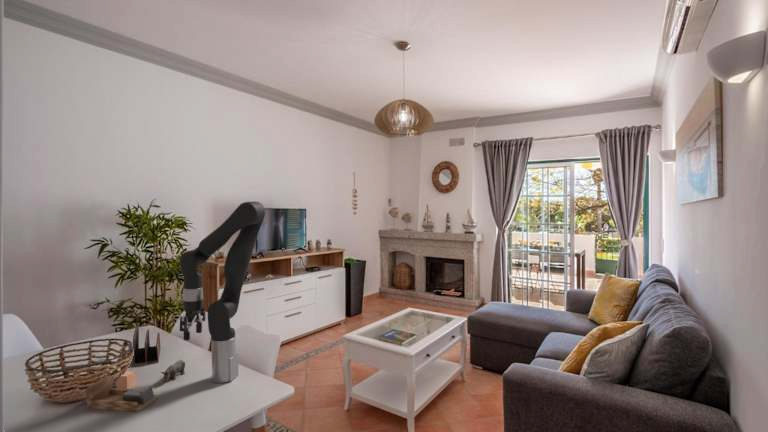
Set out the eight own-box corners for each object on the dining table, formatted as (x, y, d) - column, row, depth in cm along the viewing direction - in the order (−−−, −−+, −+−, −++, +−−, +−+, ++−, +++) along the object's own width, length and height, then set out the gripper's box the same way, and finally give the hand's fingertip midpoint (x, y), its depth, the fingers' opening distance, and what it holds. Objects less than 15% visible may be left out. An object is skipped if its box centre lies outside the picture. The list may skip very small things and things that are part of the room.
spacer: (135, 384, 160) (135, 371, 160) (127, 390, 155) (126, 376, 155) (125, 383, 160) (124, 370, 160) (116, 389, 156) (116, 375, 156)
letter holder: (132, 367, 176) (131, 336, 175) (137, 351, 193) (136, 322, 192) (158, 362, 180) (157, 332, 179) (160, 347, 198) (159, 319, 197)
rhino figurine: (156, 386, 158) (155, 371, 158) (179, 370, 172) (179, 357, 171) (165, 387, 158) (164, 372, 157) (188, 371, 171) (187, 358, 171)
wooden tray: (156, 398, 149) (155, 378, 148) (138, 411, 140) (137, 390, 139) (107, 395, 151) (106, 375, 151) (87, 408, 142) (86, 387, 142)
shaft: (152, 397, 146) (152, 386, 146) (144, 404, 142) (143, 392, 142) (131, 396, 147) (131, 384, 147) (122, 402, 143) (122, 390, 143)
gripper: (191, 303, 157) (191, 343, 158) (211, 294, 171) (211, 331, 172) (173, 302, 158) (173, 342, 159) (194, 293, 172) (194, 329, 173)
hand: (193, 336), depth 165 cm, fingers open, 8 cm apart
